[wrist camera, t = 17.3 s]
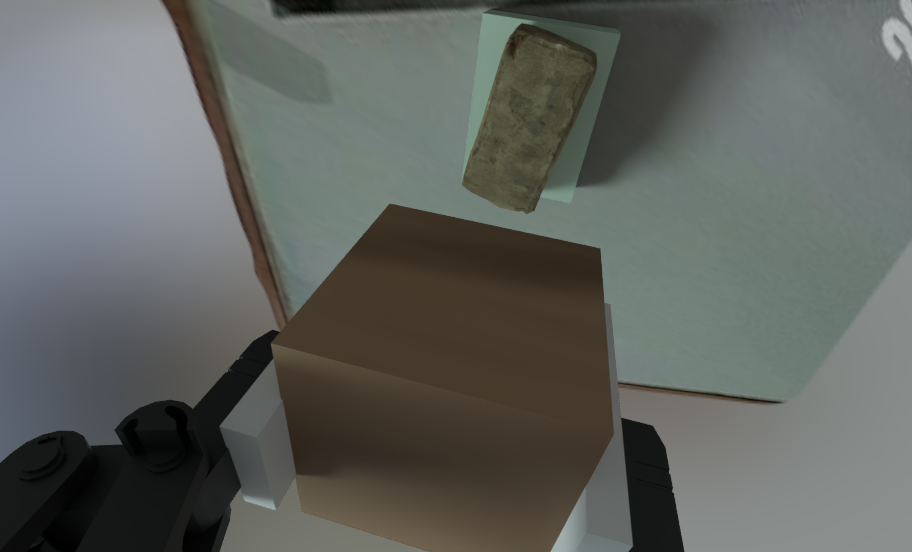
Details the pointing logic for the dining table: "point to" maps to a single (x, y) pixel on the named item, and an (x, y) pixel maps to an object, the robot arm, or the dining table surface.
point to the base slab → (572, 155)
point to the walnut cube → (449, 384)
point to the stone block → (528, 116)
